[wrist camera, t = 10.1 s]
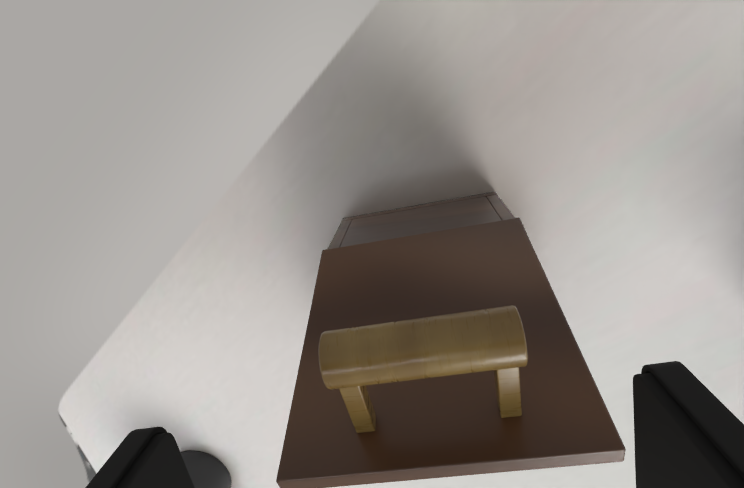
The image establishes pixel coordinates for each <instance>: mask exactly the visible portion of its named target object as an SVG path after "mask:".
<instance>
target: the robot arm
mask: <svg viewBox="0 0 744 488" xmlns="http://www.w3.org/2000/svg"><path fill="white" fill-rule="evenodd" d="M633 399H634V433H635V468H636V488H744V424H743V423H742V422H741V421H740V420H739V419H737V418H736V417H735V416H734V415H733V414H732V413H731V412H730V411H729V410H728V409H727V408H726V407H725V406H724V405H723V404H722V403H721V402H720V401H719V400H718V399H717V398H716V397H715V396H714V395H713V394H712V393H711V392H710V391H709V390H708V389H707V388H706V387H705V386H704V385H703V384H702V383H701V382H700V381H699V380H698V379H697V378H696V377H695V376H694V375H693V374H692V373H691V372H690V371H689V370H688V369H687V368H686V367H685V366H684V365H683V364H681V363H680V362H677V361H674V362H666V363H658V364H650V365H645V366H643V368H642V373H641V374H636V375H634V377H633ZM86 488H195V487H194V485H193V482H192V480H191V477H190V475H189V472H188V470H187V468H186V465H185V463H184V460H183V458H182V455H181V453H180V451H179V448H178V446H177V443H176V441H175V438H174V437H173V435H172V434H171V433H167V431H166V430H165V429H164V428H163V427H153V428H145V429H137V430H134V431H131V432H130V433H129V434H128V435H127V437H126V438H125V439H124V440H123V442H122V443H121V444H120V445H119V447H118V448H117V449H116V450H115V452H114V453H113V454H112V455H111V457H110V458H109V459H108V460H107V462H106V463H105V464H104V465H103V467H102V468H101V469H100V470H99V472H98V473H97V474H96V475H95V477H94V478H93V479H92V480H91V482H90V483H89V484H88V485H87V487H86Z"/></svg>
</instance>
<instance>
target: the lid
mask: <svg viewBox="0 0 744 488" xmlns="http://www.w3.org/2000/svg"><path fill="white" fill-rule="evenodd" d="M624 455H625V447H624V445H623V442H622V440H621V438H620V436H619V434H618V432H617V429H616V427H615V425H614V423H613V421H612V418H611V416H610V414H609V412H608V410H607V408H606V405H605V403H604V401H603V399H602V397H601V395H600V392H599V390H598V388H597V386H596V384H595V381H594V379H593V377H592V375H591V373H590V371H589V368H588V366H587V364H586V362H585V360H584V357H583V355H582V353H581V351H580V349H579V347H578V344H577V342H576V340H575V338H574V336H573V334H572V331H571V329H570V327H569V325H568V323H567V320H566V318H565V316H564V314H563V312H562V310H561V307H560V305H559V303H558V301H557V299H556V297H555V294H554V292H553V290H552V288H551V286H550V283H549V281H548V279H547V277H546V275H545V273H544V270H543V268H542V266H541V264H540V262H539V259H538V257H537V255H536V253H535V251H534V249H533V246H532V244H531V242H530V240H529V238H528V236H527V233H526V231H525V229H524V227H523V225H522V222H521V220H520V218H513V219H507V220H501V221H495V222H489V223H483V224H477V225H471V226H465V227H459V228H453V229H447V230H441V231H435V232H429V233H423V234H417V235H411V236H405V237H398V238H392V239H386V240H380V241H374V242H368V243H362V244H356V245H350V246H344V247H338V248H332V249H326V250H323V251H322V255H321V260H320V265H319V270H318V275H317V280H316V285H315V290H314V295H313V300H312V305H311V310H310V315H309V320H308V325H307V330H306V335H305V340H304V345H303V350H302V355H301V360H300V365H299V370H298V375H297V380H296V385H295V390H294V395H293V400H292V405H291V410H290V415H289V420H288V425H287V430H286V435H285V440H284V445H283V450H282V455H281V460H280V465H279V470H278V475H277V480H276V481H277V483H278V485H279V487H280V488H327V487H338V486H349V485H361V484H372V483H383V482H395V481H406V480H417V479H429V478H440V477H451V476H463V475H474V474H486V473H497V472H508V471H520V470H531V469H542V468H554V467H565V466H576V465H588V464H599V463H610V462H622V461H624Z"/></svg>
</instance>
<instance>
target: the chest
mask: <svg viewBox="0 0 744 488" xmlns="http://www.w3.org/2000/svg"><path fill="white" fill-rule="evenodd" d="M513 218H515V217H514V216H513V214H512V213H511V212H510V210H509V209H508V208H507V207H506V205H505V204H504V203H503V201H502V200H501V199H500V198H499V196H498V195H497V193H496V192H491V193H485V194H479V195H474V196H468V197H462V198H457V199H451V200H445V201H439V202H434V203H428V204H422V205H417V206H411V207H405V208H399V209H394V210H388V211H382V212H376V213H371V214H365V215H359V216H354V217H348V218H343V220H342V222H341V224H340V226H339V228H338V230H337V231H336V233H335V235H334V237H333V239H332V241H331V243H330V245H329V247H328V249H332V248H338V247H344V246H350V245H356V244H362V243H368V242H374V241H380V240H386V239H392V238H398V237H405V236H411V235H417V234H423V233H429V232H435V231H441V230H447V229H453V228H459V227H465V226H471V225H477V224H483V223H489V222H495V221H501V220H507V219H513Z"/></svg>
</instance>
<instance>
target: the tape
mask: <svg viewBox="0 0 744 488" xmlns="http://www.w3.org/2000/svg"><path fill="white" fill-rule="evenodd" d="M181 455H182V458H183V460H184V463H185V465H186V468H187V470H188V472H189V475H190V477H191V480H192V482H193V485H194V487H195V488H231V477H230V474H229V472H228V470H227V468H226V467H225V466H224V465H223V464H222V463H221V462H220V461H219V460H218V459H216V458H215V457H213V456H211V455H209V454H206V453H203V452H199V451H185V452H181Z"/></svg>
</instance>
